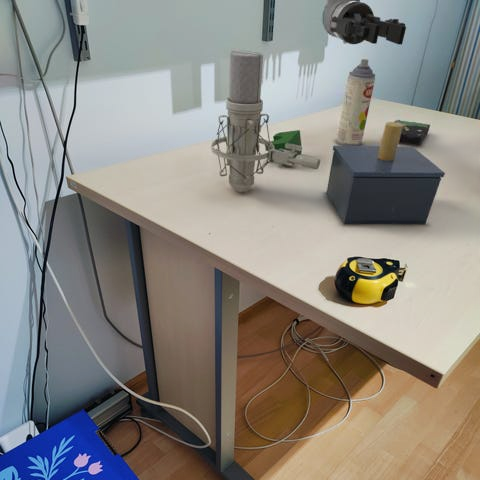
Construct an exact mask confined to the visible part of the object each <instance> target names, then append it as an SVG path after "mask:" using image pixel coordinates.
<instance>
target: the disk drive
mask: <svg viewBox="0 0 480 480" xmlns="http://www.w3.org/2000/svg"><path fill="white" fill-rule="evenodd" d="M393 122H397V123H401V124H403V128H402V132H401V136H400V139H399V143H398V144H402V145H403V144H404V145H409V146H410V145H411V146H416V147H419V146H421V145H422V143H423V142H424V140H425V139H426V137H427V135H428V133H429V131H430V127H431V124H428V123H423V122H416V121H407V120H400V119H397V120H394V121H393Z"/></svg>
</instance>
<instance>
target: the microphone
mask: <svg viewBox="0 0 480 480" xmlns="http://www.w3.org/2000/svg"><path fill="white" fill-rule="evenodd" d="M263 61H264V54H263V53H262V52H259V51H253V50H234V49H233V50H231V51H230V53H229V90H228V91H229V93H228V94H229V95H228V96H229V97H228V98H226V101H225V102H226V103H225V105H226V106H225V109H226V111H227V115H226V114H221V115H218V124H219V125H218V129H217V133H216V134H215V136H217V138H215V139H214V140H212V142H211V148H210V149H211V153H212V154H214V156H217V159H218V163H219V168H220V169H219V176H220V177H227V176H228V184H229V186H230V187H231V188H232V190H234V191H235V192H237V193H246V192H248V191H249V190H251V188H252V187H253V186H254V185H255V174H257V175H263V174H264V168H265V167H266V166H267V165H268V164H269V163H270V162H271V161H270V160H274V161H273V162H274V163H277V164H281V165H282V164H285V165H290V166H289V167H292V166H299V167H302V168H307V169H312V170H315V171H316V170H317V171H318V169H319V167H320V165H321V159H320V158H317V157H312V156H307V155H302V154H301V155H297V152H295V150H297V151H302V152H303V146H298V145H294V144H288V143H286V144H285V148H287V149H292V151H288V150H284V149H279V150H275V148H274V145H273V144H272V143H271V142H270V141H271V140H270V133H269V125H268V123H269V119H270V115H269V114H268V113H262V112H263V108H264V107H263V106H264V101H263V99H261V94H262V93H261V91H262V78H263V65H264V64H263V63H264V62H263ZM262 117H266V118H263V122H262V124H261V120H262ZM221 118H226V124H225V125H224V119H222V120H221ZM264 124H266V129H267V130H266V131H267V138H268V139H264V138H263V136H261V134H260V133H261V130H262V127H263V126H264ZM223 125H224V127H223ZM220 128H221V129H220ZM225 128H226V134H225V130H224V129H225ZM221 132H222V134H223V136H221V137H220V135H221V134H220V133H221ZM222 143H225V145H226V150H225V152H223V151H221V150H220V144H222ZM260 144H262V145H264V146H265V145H267V146H268V151H267V152H266V153H262V154H261V152H260V149H261V148H260V146H261V145H260ZM215 146H216V148H215ZM269 147H270V148H271V149H270V148H269ZM220 158H222V159H223V165H224V167H223V168H222V165H221V159H220ZM265 159H266V162H265V163H263V164H261V161H262V160H265ZM256 161H257V164H256ZM227 166H228V167H229V168H228V170H227ZM255 166H256V170H255ZM224 171H225V173H224ZM228 171H229V175H228ZM222 173H224V174H222Z"/></svg>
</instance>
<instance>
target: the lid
mask: <svg viewBox="0 0 480 480" xmlns="http://www.w3.org/2000/svg"><path fill="white" fill-rule="evenodd" d="M402 128H403V124H401V123H397V122H394V121H387V122H386V123H385V125H384V129H383V134H382V137H381V142H380V145H360V146H343V145H339V144H338V145H337V144H336V145H332V151H333V152H335V153H336V154H337V156H338V157H339V158H340V160H341V161H342V162H343V164H344V165H345V166H346V168H347V169H348V170H349V172H350V173H351V174H352V176H353V177H441V178H445V175H446V172H445V171H443V170H442V169H441V168H439V167H438V165H436V164H435V163H433V162H432V161H431V160H430V159H429V158H428V157H426V156H425V155H424V154H423V153H421V152H420V151H419V150H418V149H416V148H415V147H414V145H411V146H410V145H408V146H403V145H399V144H400V143H399V139H400V136H401V132H402Z"/></svg>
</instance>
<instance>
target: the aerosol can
mask: <svg viewBox="0 0 480 480" xmlns="http://www.w3.org/2000/svg"><path fill="white" fill-rule="evenodd" d="M346 79H347V80H346V86H345V91H344V97H343V101H342V102H343V103H342V107H341V114H340V120H339V125H338V126H339V127H338V131H337V137H336V143H337V144H338V145H339V146H362V142H363V138H364V134H365V129H366V123H367V120H368V119H367V118H368V115H369V110H370V105H371V100H372V96H373V91H374V87H375V83H376V74H375V73H374V72H373V69H372V68H371V66H370V64H369V59H366V58H363V59H361V60H360V63H359V64H358V65H357V66H356V67H355V68H353V70H352V71H349V73H348V76H347V78H346Z"/></svg>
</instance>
